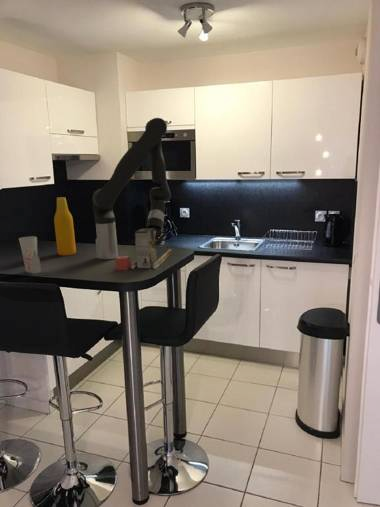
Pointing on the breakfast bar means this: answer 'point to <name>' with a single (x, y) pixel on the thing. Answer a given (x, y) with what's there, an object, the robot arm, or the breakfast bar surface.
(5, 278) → the breakfast bar surface
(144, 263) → the coffee box
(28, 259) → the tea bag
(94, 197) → the robot arm
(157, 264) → the game track
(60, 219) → the beer bottle
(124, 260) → the red die
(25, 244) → the cup
